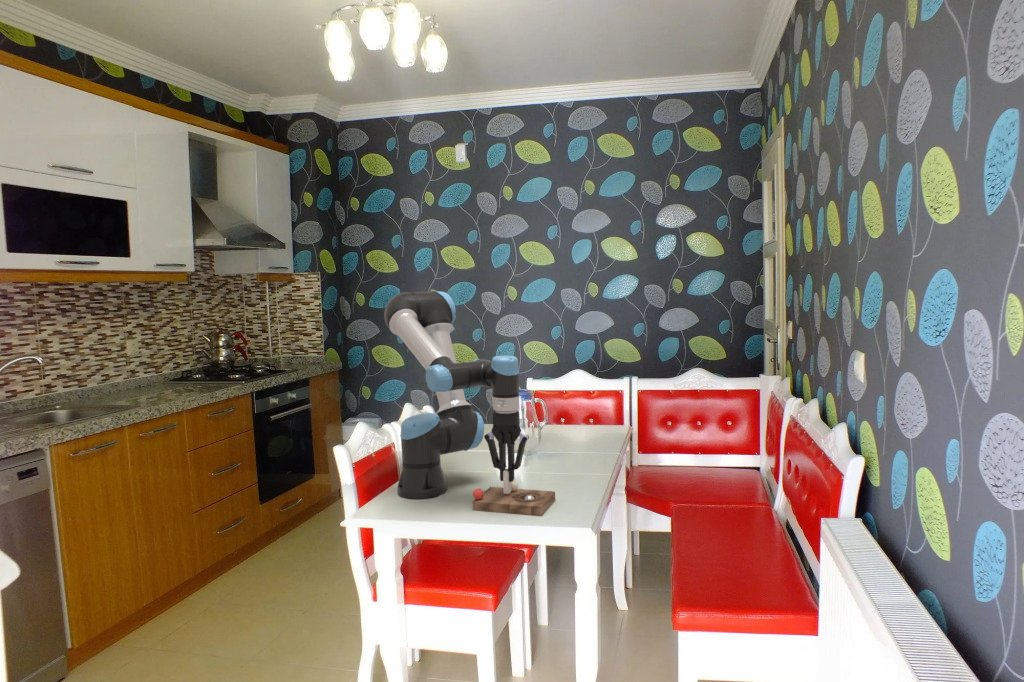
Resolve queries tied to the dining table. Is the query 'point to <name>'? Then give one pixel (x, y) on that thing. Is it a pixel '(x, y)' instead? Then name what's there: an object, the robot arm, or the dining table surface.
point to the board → (515, 501)
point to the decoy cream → (514, 486)
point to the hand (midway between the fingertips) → (507, 492)
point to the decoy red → (478, 494)
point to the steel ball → (529, 497)
